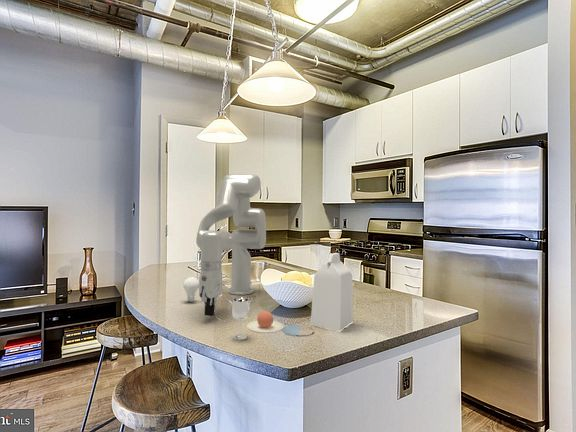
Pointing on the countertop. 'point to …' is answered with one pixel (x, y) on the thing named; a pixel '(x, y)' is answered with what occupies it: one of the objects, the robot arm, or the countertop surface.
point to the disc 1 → (273, 328)
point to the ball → (265, 319)
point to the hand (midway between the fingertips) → (209, 315)
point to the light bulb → (191, 287)
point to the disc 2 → (291, 329)
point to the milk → (332, 295)
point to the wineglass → (240, 314)
